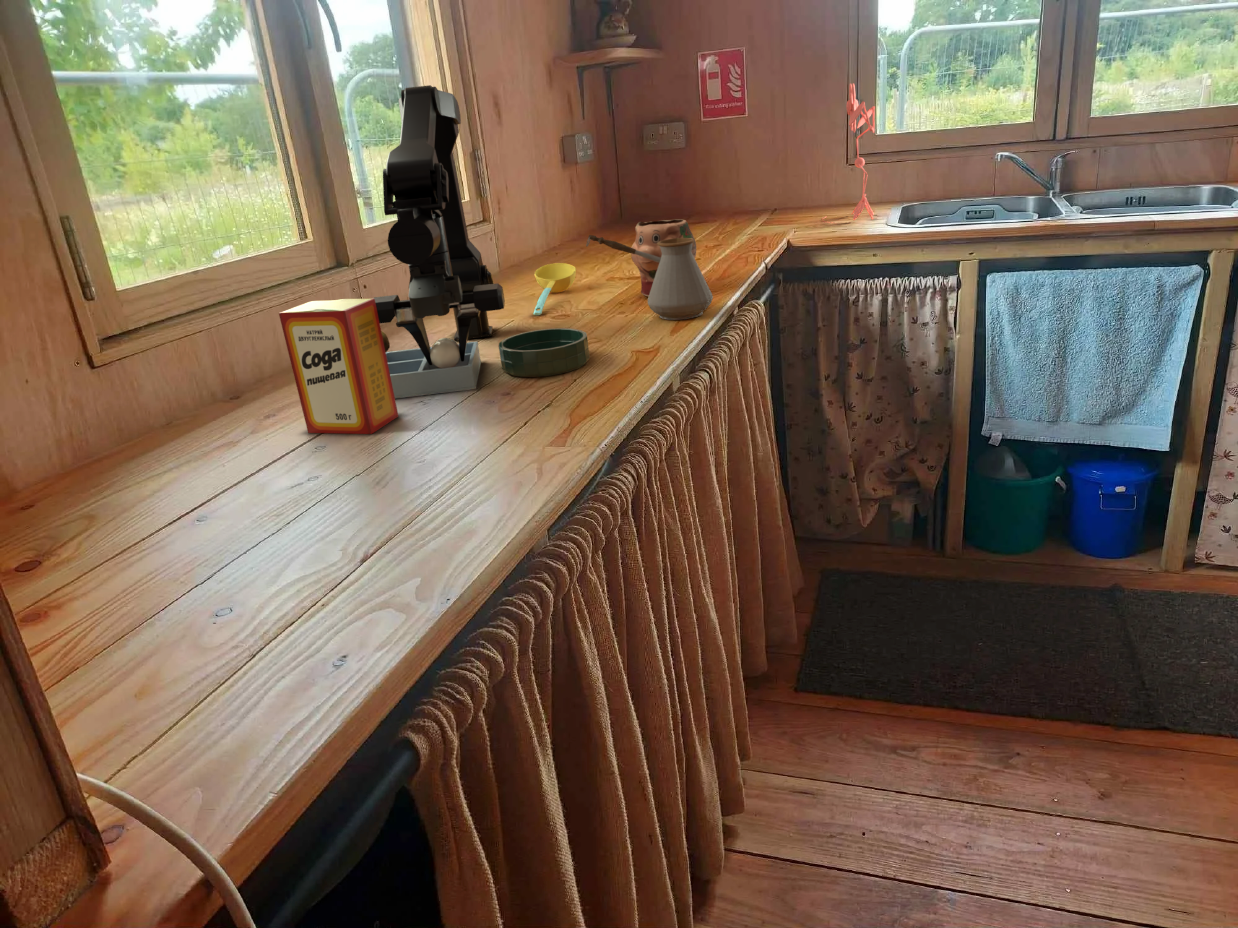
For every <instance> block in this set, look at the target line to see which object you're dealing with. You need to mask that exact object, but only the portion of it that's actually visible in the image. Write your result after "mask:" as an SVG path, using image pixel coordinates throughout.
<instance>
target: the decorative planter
mask: <svg viewBox="0 0 1238 928" xmlns="http://www.w3.org/2000/svg"><path fill="white" fill-rule="evenodd" d="M634 229H635V230H634V231H635V240H634V242H633V243H632V245H631V246H630V247H631V248H633V249H636V250H638V251H641V252H644V253H647V254H651V255H654V256H657V257H661V256H662V252H661V249H660V246H658V245H657V242H659V241H663V240H667V239H674V238H693V239H694V240H695V241H694V242H693V243H692V250H691V252H692V254H693V256H694V258H695V259H696V257H697V242H696V238H695V236H694V234H693V232H692V231H691V228H690V225H689V223H688V221H687V220H686V219H683V218H682V219H666V220H665V219H663V220H662V219H661V220H652V221H651V220H650V221H639V222H638V223H637V224H636V226H635V228H634ZM630 255H631V260H632V262H633V264H634V265H635V266H636V268H637V269H638V271H639V275H640V284H641V289H640V294H641V295H643V296H645V297H649V294H650V291H651V288H652V284H653V281H654V278H655V275H656V272H657V269H658V266H659V263H658V262H655V261H652V260H650V259H647V258H644V257H641V256H639V255H636V254H631V253H630Z"/></svg>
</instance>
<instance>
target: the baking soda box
mask: <svg viewBox="0 0 1238 928" xmlns="http://www.w3.org/2000/svg"><path fill="white" fill-rule="evenodd" d="M278 317H279V320H280V324H281V328H282V333H283V338H284V341H285V345H286V348H287V353H288V356H289V361H290V365H291V369H292V373H293V377H294V381H295V385H296V390H297V393H298V398H299V401H300V406H301V410H302V414H303V418H304V422H305V426H306V430H307V433H308V434H345V435H347V434H349V435H351V434H352V435H355V434H356V435H372V434H374V433H376V432H377V431H378V430H380V429H381V428H383V427H385V426H386V425H388V424H389V423H391V422H392V421H394V420H395V419H397V418H398V417H399V412H398V407H397V402H396V399H395V397H394V392H393V387H392V382H391V377H390V372H389V367H388V362H387V357H386V352H385V347H384V343H383V338H382V333H381V331H382V328H381V323H379V318H378V313H377V308H376V303H375V299H373V298H339V299H335V300H334V299H333V300H332V299H331V300H329V299H328V300H310V301H308V302H305V303H302V304H299V305H297V306H294V307H291V308H289V309H286V310H283V311H279V312H278Z"/></svg>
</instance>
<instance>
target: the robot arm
mask: <svg viewBox="0 0 1238 928" xmlns="http://www.w3.org/2000/svg"><path fill="white" fill-rule="evenodd" d="M398 106H399V113H400V114H399V115H400V120H401V121H400V123H401V126H400V127H401V128H400V139H399V145H397V146H396V147H394V148H393V149H392V150H391V151H389V152H388V156H387V159H386V164H385V168H383V169H382V190H383V213H384V215H385V216H395V215H396V219H397V221H396V222H395V223H394V224H393V225H392V226H391V228H390V229H389V232H388V236H387V246H388V249H389V251H390V253H391V254H392V256H393V257H394V258H395V259H396V260H398V261H399V262H400V263H402V264H405V265H408V271H409V282H408V299H404V300H401V299H400V297H399V294H391V295H383V296H373V298H372V299H375V303H376V308H377V313H378V318H379V323H380V324H389V323H391V322H392V321H393V320H394V319H395V318H396V323H395V326H396V327H397V328H404V330H406V331H407V332H408V333H409V334H410V336H412V338H413V339H414V341H415V342H416V344H417V346H418V348H420V349H421V351H422V353H423V354H424V356H425V358H426V360H427V362H428V363H429V365H433V362H432V361H431V358H430V351H431V348H430V347H431V345H430V341H429V338H428V335H427V333H428V332H427V330H426V326H425V322H424V318H425V317H433V316H438V317H443V316H447V315H448V314H449V313H450V309H452V311H453V315H454V322H455V327H456V330H455V334H454V336H453V338H454V339H453V340H454V341H458V344H459V352H460V358H461V362H463V361H464V359H465V352H466V346H467V343H468V340H471V339H478V338H479V339H480V338H488V337H492V335H493V329H494V328H493V325H490V324H489V317H488V312H492V311H500V310H504V309H505V303H506V300H505V293H504V288H503V286H502V285H501V284H499V282H498V283H497V282H496V283H494V279H493V276H492V273H491V271H489V268H488V266H487V264H484V263H483V257H482V253H481V252H480V251H479V249H478V248H477V247H476V246H475V244H474V243H472V241H471V240H470V239H469V233H468V227H467V222H466V218H465V217H466V216H465V211H464V205H463V200H462V194H461V189H460V184H459V179H458V173H457V167H456V162H455V156H454V148H455V145H456V142H457V140H458V137H459V134H460V129H459V125H461V123H462V120H461V117H462V116H461V112H460V106H459V102H458V100H457V97H456V96H455V95H454V94H453V93H451V92H448V91H443V90H439V89H438V88H437V86H432V85H429V84H428V85H420V86H419V85H417V86H409V87H405V88H404V89H401V90H400V97H399V98H398Z"/></svg>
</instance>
